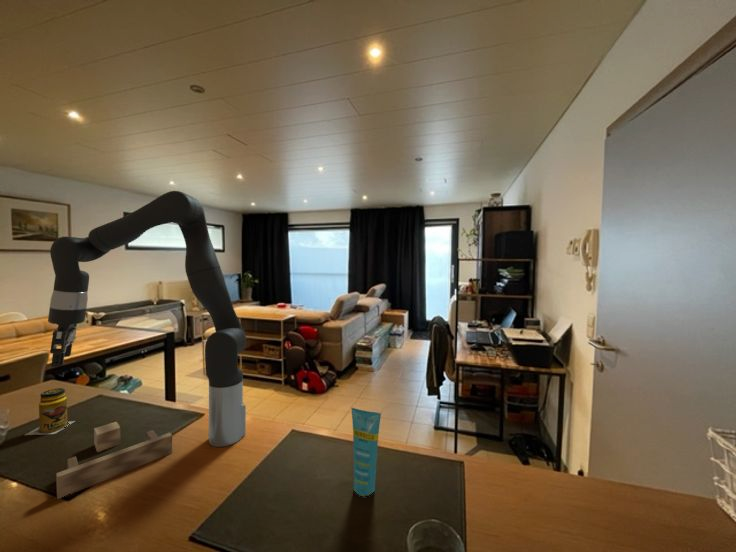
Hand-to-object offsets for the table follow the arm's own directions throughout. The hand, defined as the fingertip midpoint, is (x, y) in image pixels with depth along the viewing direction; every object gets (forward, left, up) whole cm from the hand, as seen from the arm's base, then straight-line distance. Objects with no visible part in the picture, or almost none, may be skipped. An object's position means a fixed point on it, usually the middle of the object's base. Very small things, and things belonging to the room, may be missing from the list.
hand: (61, 361), depth 86 cm
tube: (-44, +79, -24) cm, 93 cm away
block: (-8, +12, -24) cm, 28 cm away
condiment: (+2, -12, -24) cm, 27 cm away
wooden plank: (-8, +25, -24) cm, 35 cm away
